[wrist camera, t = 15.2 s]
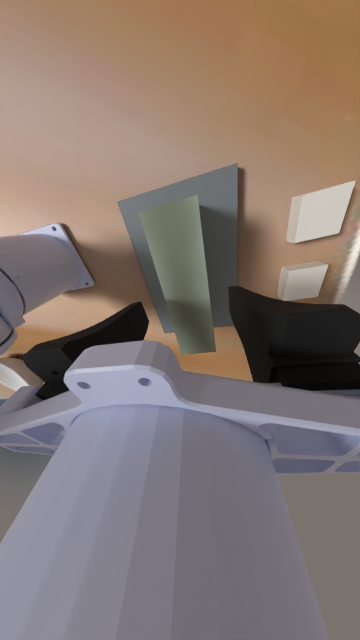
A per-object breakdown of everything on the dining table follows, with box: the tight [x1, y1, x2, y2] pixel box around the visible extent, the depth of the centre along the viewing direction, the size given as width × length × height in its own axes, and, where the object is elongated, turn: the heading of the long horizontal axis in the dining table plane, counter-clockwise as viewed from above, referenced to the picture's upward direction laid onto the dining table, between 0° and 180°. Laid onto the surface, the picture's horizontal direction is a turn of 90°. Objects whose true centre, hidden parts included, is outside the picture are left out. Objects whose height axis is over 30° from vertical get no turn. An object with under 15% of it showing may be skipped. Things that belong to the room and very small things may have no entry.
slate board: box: [117, 163, 238, 333], centre depth 19 cm, size 12×18×1 cm, turn 13°
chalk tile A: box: [277, 261, 328, 301], centre depth 19 cm, size 4×4×2 cm
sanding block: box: [138, 195, 216, 354], centre depth 16 cm, size 4×14×7 cm, turn 13°
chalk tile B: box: [286, 180, 356, 243], centre depth 15 cm, size 4×4×2 cm
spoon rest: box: [0, 358, 43, 391], centre depth 34 cm, size 24×12×7 cm, turn 71°
